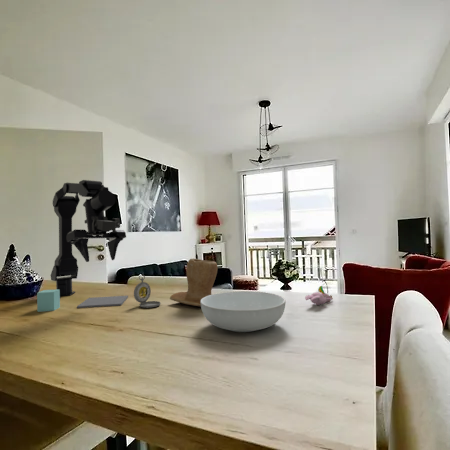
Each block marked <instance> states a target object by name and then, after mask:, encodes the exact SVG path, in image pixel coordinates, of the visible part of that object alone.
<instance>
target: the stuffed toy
mask: <svg viewBox="0 0 450 450" xmlns="http://www.w3.org/2000/svg"><path fill="white" fill-rule="evenodd" d="M317 289H318V292H317V291H316V292H313V293H311V294H308V295H305V297H304V299H305V301H308V300H310V302H311V303H312V304H314V305H316V306H322V305H323V304H325V303H330V302H331V301H333V300H334V298H333V295H332V294H330V295H329V294H328V293H325V290H324V289H323V286H322V285H320V286H319V287H318V288H317Z"/></svg>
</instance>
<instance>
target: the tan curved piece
mask: <svg viewBox="0 0 450 450" xmlns="http://www.w3.org/2000/svg"><path fill="white" fill-rule="evenodd" d="M218 269H219V267H218V264H217V262H216V261H213V260H206V259H205V260H204V259H199V258H190V259H189V260H187V264H186V280H187V291H179V292H176V293H173V294H172V295H170V297H169V300H171V301H174V302H177V303H180V304H183V305H188V306H194V307H201V303H200V301H201V299H202V298H204V297H206V296H209V295H212V289H213V287H214V283H215V280H216V277H217V274H218Z"/></svg>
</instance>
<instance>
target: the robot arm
mask: <svg viewBox="0 0 450 450" xmlns="http://www.w3.org/2000/svg"><path fill="white" fill-rule="evenodd" d="M67 194H75V195H74V196H72V195H67ZM79 196H80V197H83V198H86V199H85V201H84V202H83V204H82V206H83V207H84V211H85V220H84V224H86V226H87V227H86V228H87V230H86V229H73V217H74V216H75V214H76V212H77V208H78V205H79V203H80V200H81V199H80V197H79ZM115 204H116V196H115V194H114V193H113V192H112V191H110V189H109V187H107V186H104V184H103V181H99V180H89V179H81V180H80V181H79V182H76V183H75V182H64V183H63V185H62V187H61V188H59V189H58V190H57V191H56V192H55V194H54V196H53V199H52V207H53V211H54V213H55V214H56V216H57V217H58V255H57V257H56V258H55V260H54V265H53V268H52V270H51V274H50V281H52V282H56V287H55V290H56V289H60V297H62V296H63V297H64V296H72V295H73V294H75V293H76V291H75V290H74V291H73V279H75V280H76V279H78V272H79V265H78V259H77V258H76V257H75V255H73V245H74V247H75V248H76V249H77V250H78V252H79V253H80V254H81V256H82V258H83V259H84V261H85V262H86V263H89V262H90V254H89V248H88V243H89V239H107V240H108V241H107V248H108V251H109V252H108V253H109V256H110V259H111V261H114V260H115V258H116V255H117V250H118V246H119V244H120V243H121V242H122V241H123V240H124V239H126V238H127V234H126V231H125V230H124V229H120V228H121V220H120V218H118V217H117V218H114V217H113V218H112V219H111V220H108V217H107V216H105V213H104V212H105V211H107V210H108V209H110V208H111V207H112V206H114V205H115Z"/></svg>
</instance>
